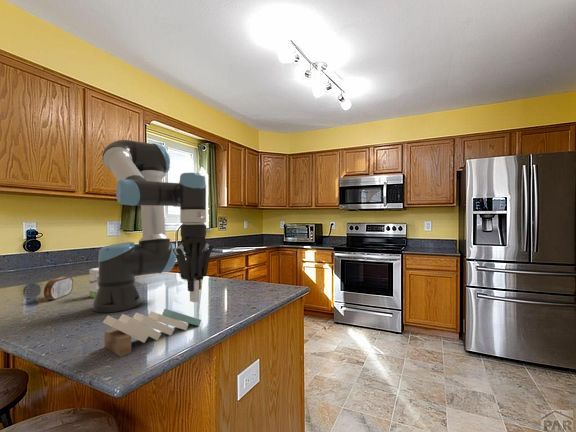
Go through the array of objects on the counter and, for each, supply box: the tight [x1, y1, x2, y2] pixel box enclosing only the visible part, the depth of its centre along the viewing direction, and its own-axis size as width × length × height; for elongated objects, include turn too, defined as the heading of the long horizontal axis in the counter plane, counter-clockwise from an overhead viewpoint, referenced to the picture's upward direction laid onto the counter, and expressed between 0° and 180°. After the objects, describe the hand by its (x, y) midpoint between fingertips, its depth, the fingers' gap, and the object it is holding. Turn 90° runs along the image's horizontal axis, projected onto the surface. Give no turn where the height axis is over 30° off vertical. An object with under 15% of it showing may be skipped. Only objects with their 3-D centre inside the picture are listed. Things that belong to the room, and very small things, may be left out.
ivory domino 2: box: [117, 313, 162, 341], centre depth 78 cm, size 2×5×10 cm
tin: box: [43, 275, 74, 301], centre depth 127 cm, size 15×3×8 cm, turn 5°
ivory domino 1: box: [102, 315, 149, 344], centre depth 75 cm, size 2×5×10 cm
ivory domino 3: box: [132, 312, 175, 336], centre depth 81 cm, size 2×5×10 cm
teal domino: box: [161, 308, 202, 327], centre depth 88 cm, size 2×5×10 cm
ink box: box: [88, 267, 99, 299], centre depth 129 cm, size 9×5×12 cm, turn 149°
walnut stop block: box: [104, 328, 132, 358], centre depth 73 cm, size 9×2×4 cm, turn 52°
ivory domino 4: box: [147, 310, 190, 331], centre depth 84 cm, size 2×5×10 cm
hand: (194, 301), depth 91 cm, fingers closed
